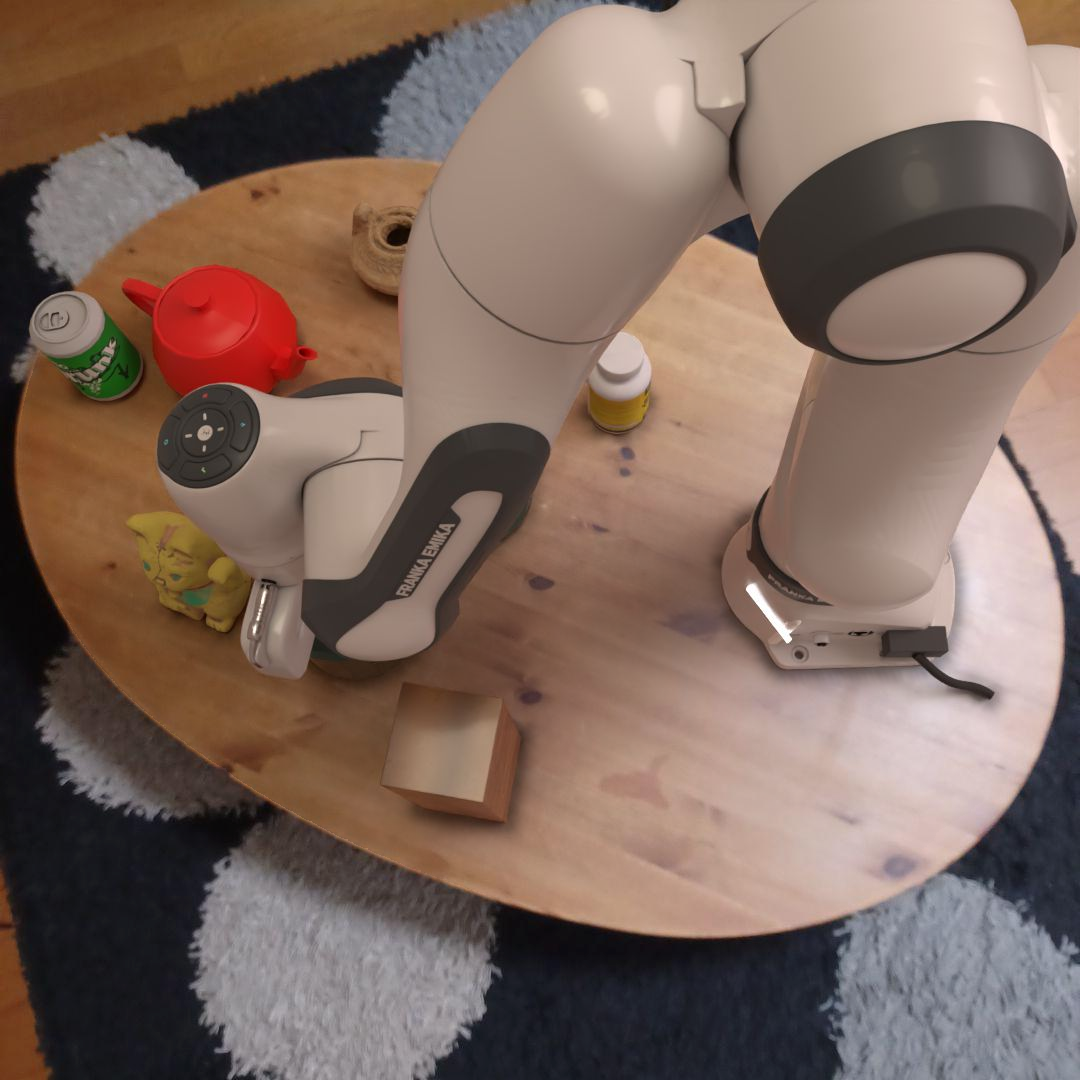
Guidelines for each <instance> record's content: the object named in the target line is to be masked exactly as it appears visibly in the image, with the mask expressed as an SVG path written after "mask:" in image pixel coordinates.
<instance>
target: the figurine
mask: <svg viewBox="0 0 1080 1080" xmlns="http://www.w3.org/2000/svg"><path fill="white" fill-rule="evenodd" d="M124 525H125V527H126V528H127V529H129V530H131V532H132V534H133V536H134V539H135V541H136V546H137V551H138V558H139V561H140V562H141V566H142V569H143V571H144V574H145V576H146V578H147V580H149V581H150V582H151V583H152V584H154V586H155V588H156V590H157V593H158V594H159V595H158V601H159V603H160V604H161V605H162V606H164V607H165V608H168V609H170V610H173V611H175V612H179V613H181V614H183V615H185V616H187V617H189V618H191V619H192V620H195V621H201V620H202V619H203V618H204V616H205V615H206V617H205V623H206V626H208V627H211V628H212V629H215V630H216V631H217V632H222V633H228V632H229V631H230V630H231V629H232V627H233V626H234V624H235V622H236V621H235V620H236V619H237V617H238V616H239V615H240V614H241V612H242V611H243V609H244V607H245V605H246V603H247V602H248V599H249V598H248V597H249V596H250V592H251V591H250V590H251V582H252V577H250V576H249V575H248V574H247V573H246V572H244V571H243V570H242V569H241V568H240V567H239V566H238V565H237V564H236V563H235V562H234V561H233V560H232V559H230V558H229V557H228V556H227V555H226V554H225V553H224V552H223V551H222V550H221V549H220V547H219V546H218V545H217V543H216V542H215V541H214V540H212V539H211V538H209V537H208V536H206V535H205V534H204V533H203V532H202V531H201V530H199V529H198V528H197V527H196V526H195V525H194V524H193V523H192V522H191V521H190V520H189V519H188V518H187V517H186V516H185V514H180V513H178V512H174V511H170V510H169V511H167V510H156V511H151V512H143V513H137V514H134V515H131V516H130V517H129V518H128V519H127V520H126V521H125V523H124Z"/></svg>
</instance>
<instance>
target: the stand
mask: <svg viewBox="0 0 1080 1080" xmlns="http://www.w3.org/2000/svg"><path fill="white" fill-rule="evenodd" d="M521 741H522V736H521V735H520V733H519V730H518V728H517V727H516V724H515V721H514V719H513V718H512V716H511V713H510V712H509V709H508V707H507V705H506V703H505V700H504V698H502V697H497V696H493V695H486V694H481V693H480V694H479V693H473V692H467V691H463V690H456V689H451V688H444V687H439V686H431V685H425V684H418V683H413V682H407V681H402V682H401V686H400V691H399V696H398V700H397V705H396V710H395V714H394V719H393V723H392V728H391V733H390V737H389V741H388V745H387V749H386V750H387V751H386V756H385V759H384V760H385V761H384V764H383V768H382V773H381V778H380V782H379V786H381V787H383V788H385V789H386V790H388V791H391V792H392V793H394V794H396V795H398V796H399V797H402V798H403V799H405V800H407V801H409V802H411V803H413V804H415V805H417V806H419V807H421V808H422V809H426V810H432V811H437V812H443V813H449V814H455V815H459V816H464V817H465V816H466V817H473V818H477V819H482V820H489V821H493V822H500V823H507V821H508V816H509V815H508V814H509V808H510V804H511V803H510V802H511V797H512V792H513V786H514V781H515V775H516V769H517V763H518V759H519V753H520V747H521Z"/></svg>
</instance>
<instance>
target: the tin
mask: <svg viewBox="0 0 1080 1080" xmlns="http://www.w3.org/2000/svg"><path fill="white" fill-rule="evenodd" d="M405 659H406V658H402V659H397V660H390V661H378V662H366V661H356V660H350V659H346V658H343V657H341V656H339V655H337V654H336V653H334V652H333V651H332V650H330V649H329V648H328V647H327V646H326V645H325V644H323V643H322V642H321V641H320V640H319V639H318V638H317V637H316V636H315V638H314V642H313V646H312V650H311V654H310V658H309V661H310V662H312V663H313V664H314V665H315V666H317V667H319V668H320V669H322V670H323V671H325V672H327V673H328V674H330V675H331V676H333V677H338V678H341V679H344V680H352V681H359V680H360V681H361V680H362V681H363V680H370V679H374V678H377V677H380V676H381V675H382V676H383V675H385V674H387V673H388V672H390V671H392V670H394V669H395V668H396V667H398V666H399V665H400V664H402V663H403V661H405Z"/></svg>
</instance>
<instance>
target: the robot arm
mask: <svg viewBox="0 0 1080 1080" xmlns="http://www.w3.org/2000/svg"><path fill="white" fill-rule="evenodd" d="M417 209H418V212H417V214H416V217H415V219H414V222H413V225H412V228H411V232H410V235H409V239H408V243H407V247H406V251H405V256H404V261H403V265H402V271H401V276H400V283H399V292H398V296H397V300H398V301H397V317H398V318H397V319H398V320H397V321H398V340H399V341H398V342H399V343H398V344H399V357H400V359H399V360H400V373H401V374H400V375H401V385H398V384H397V383H394V382H392V381H389V380H386V379H382V378H377V377H371V376H370V377H369V376H364V377H363V376H361V377H344V378H336V379H332V380H327V381H323V382H320V383H317V384H313V385H310V386H308V387H305V388H303V389H301V390H299V391H297V392H295V393H292V394H290V395H288V396H286V397H285V396H277V395H273V394H270V393H267V394H266V393H263V392H261V391H258V390H256V389H253V388H251V387H248V386H245V385H241V384H236V383H215V384H209V385H206V386H203V387H200V388H198V389H196V390H194V391H192V392H190V393H189V394H188V395H186V396H185V397H182V398H181V399H180V400H178V402H177V403H176V404H175V405H174V406H173V408H172V409H171V410H170V411H169V413H168V415H167V416H166V417H165V419H164V421H163V423H162V425H161V427H160V429H159V433H158V437H157V440H156V441H157V443H156V448H155V461H156V466H157V471H158V473H159V477H160V479H161V482H162V484H163V486H164V488H165V490H166V491H167V493H168V495H169V496H170V498H171V500H172V501H173V502H174V504H175V505H176V506H177V508H178V509H179V510H180V511H181V512H182V514H183V515H184V516H186V517H187V518H188V519H189V520H190V521H191V522H192V523H193V524H194V525H195V526H196V527H197V528H198V529H199V530H201V531H202V532H203V533H204V534H205V535H206V536H208V537H209V538H211V539H212V540H214V541H215V542H216V543H217V545H218V546H219V547H220V549H221V550H222V551H223V552H224V553H225V554H226V555H227V556H228V557H229V558H230V559H232V560H233V561H234V562H235V563H236V564H237V565H238V566H239V567H240V568H241V569H242V570H243V571H244V572H246V573H247V574H248V575H249V576H250V577H251V579H253V585H252V587H251V591H250V594H249V598H248V601H247V606H246V610H245V613H244V617H243V620H242V624H241V628H240V629H241V630H240V647H241V649H242V652H243V653H244V656H245V657H246V659H247V661H248V662H249V663H250V664H251V665H252V666H253V668H254V669H255V670H256V671H257V672H259V673H260V674H262V675H265V676H269V677H274V678H279V679H287V680H294V681H295V680H299V679H300V678H302V676H303V675H304V674H305V673H306V671H307V669H308V666H309V661H310V659H309V658H310V654H311V650H312V646H313V642H314V638H315V636H316V637H317V638H318V639H319V640H320V641H321V642H322V643H323V644H325V645H326V646H327V647H328V648H329V649H330V650H332V651H333V652H334V653H336V654H337V655H339V656H341V657H343V658H346V659H350V660H356V661H366V662H378V661H390V660H397V659H402V658H405V659H406V658H410V657H413V656H416V655H419V654H421V653H423V652H426V651H428V650H429V649H431V648H432V647H434V646H435V645H436V644H437V643H438V642H439V641H440V640H441V639H442V638H443V637H444V636H445V635H446V634H447V633H448V632H449V630H450V629H451V628H452V627H453V625H454V624H455V623H456V621H457V619H458V618H459V616H460V615H461V609H460V607H461V606H460V600H459V599H460V597H461V596H462V594H463V592H464V591H465V589H466V588H467V587H468V585H469V584H470V582H471V581H472V580H473V578H474V577H475V576H476V575H477V573H478V572H479V570H480V569H481V568H482V566H483V565H484V563H485V562H486V561H487V560H488V558H489V557H490V556H491V554H492V553H493V551H494V550H495V549H496V548H497V546H498V545H499V544H500V543H501V542H502V541H501V539H502V538H503V537H504V535H505V534H506V532H507V531H508V530H509V528H510V527H511V526H512V524H513V523H514V521H515V520H516V519H517V517H518V516H519V514H520V513H521V511H522V510H523V508H524V507H525V505H526V504H527V502H528V501H529V499H530V497H531V498H532V496H533V494H534V492H535V490H536V489H537V486H538V484H539V481H540V479H541V477H542V475H543V473H544V470H545V468H546V467H547V464H548V462H549V459H550V456H551V452H552V449H553V447H554V445H555V444H556V441H557V440H558V437H559V435H560V433H561V430H562V428H563V426H564V424H565V422H566V419H567V417H568V415H569V413H570V412H571V409H572V407H573V406H574V403H575V401H576V400H577V398H578V396H579V395H580V392H581V391H582V389H583V387H584V386H585V384H586V383H587V379H588V377H589V375H590V374H591V372H592V370H593V369H594V367H595V365H596V364H597V362H598V361H599V359H600V358H601V356H602V355H603V353H604V352H605V350H606V349H607V347H608V346H609V345H610V343H611V342H612V341H613V339H614V338H615V337H616V335H617V334H618V333H619V332H621V331H622V329H624V327H625V326H626V325H627V324H629V322H630V321H631V319H632V318H633V317H634V316H635V315H636V314H637V313H638V312H639V311H640V310H641V308H643V306H644V305H645V304H646V303H647V302H648V300H649V299H651V297H652V296H653V295H654V294H655V292H656V291H657V290H658V289H659V288H660V286H661V285H662V283H663V282H664V281H665V280H666V279H667V278H668V276H669V275H670V273H671V272H672V271H673V269H674V268H675V266H676V265H677V264H678V262H679V261H680V259H681V258H682V256H683V255H684V253H686V251H687V250H688V248H689V247H690V246H691V245H693V244H694V243H695V242H696V241H698V240H699V239H701V238H702V237H704V236H706V235H707V234H708V233H710V232H712V231H714V230H715V229H718V228H719V227H721V226H723V225H725V224H727V223H729V222H731V221H734V220H736V219H739V218H740V217H742V216H747V215H749V216H750V219H751V223H752V225H753V228H754V231H755V234H756V237H757V239H758V245H757V265H758V268H759V270H760V274H761V276H762V279H763V281H764V283H765V287H766V288H767V291H768V293H769V295H770V298H771V300H772V302H773V304H774V306H775V309H776V310H777V312H778V314H779V316H780V318H781V320H782V321H783V323H784V325H785V326H786V327H787V329H788V331H789V332H790V334H791V335H792V336H793V338H794V339H796V341H798V343H800V344H802V345H804V346H805V347H808V348H810V349H813V352H812V356H811V359H810V362H809V365H808V368H807V371H806V374H805V378H804V381H803V384H802V387H801V390H800V393H799V397H798V400H797V403H796V405H795V406H796V407H795V409H794V413H793V416H792V420H791V423H790V426H789V429H788V432H787V436H786V440H785V443H784V447H783V449H782V453H781V457H780V459H779V463H778V466H777V469H776V472H775V475H774V477H773V479H772V482H771V484H770V485H769V487H767V488H766V490H765V491H764V493H763V494H762V496H761V498H760V500H759V501H758V503H757V505H756V507H755V509H753V511H752V514H751V516H750V517H749V518H750V519H749V521H748V522H746V523H745V524H743V525H742V526H741V527H740V528H739V529H738V530H737V531H736V532H735V533H734V535H733V536H732V538H731V539H730V541H729V542H728V545H727V546H726V548H725V550H724V554H723V557H722V563H721V573H720V575H721V584H722V589H723V593H724V597H725V599H726V601H727V603H728V606H729V608H730V609H731V611H732V613H733V614H734V615H735V617H736V618H737V619H738V621H740V623H741V624H742V625H743V626H744V627H745V628H747V630H749V631H750V632H751V633H752V634H754V635H755V636H756V637H757V638H758V639H759V640H760V641H761V642H762V644H763V645H764V647H765V649H766V651H767V653H768V655H769V657H770V658H771V660H772V661H773V663H774V664H775V665H776V666H777V667H779V668H780V669H782V670H816V669H818V670H819V669H846V668H849V669H850V668H877V667H878V668H882V667H911V666H921V667H922V668H923V669H924V670H925V671H926V672H927V673H928V674H930V676H932V677H933V678H934V679H936V680H937V681H938V682H940V683H942V684H944V685H946V686H948V687H950V688H953V689H956V690H962V691H967V692H973V693H976V694H978V695H981V696H983V697H984V698H986V699H987V700H989V701H990V700H991V699H992V698H993V697H994V695H995V691H994V690H992V689H991V688H989V687H988V686H985V685H983V684H980V683H977V682H974V681H968V680H963V679H962V680H961V679H957V678H954V677H952V676H950V675H948V674H947V673H945V672H944V671H943V670H941V669H939V667H938V666H936V665H935V664H934V663H933V662H934V661H935V660H936V659H937V658H942V657H943V656H944V655H946V654H947V653H949V651H950V650H949V643H948V639H949V637H950V633H951V630H952V626H953V621H954V614H955V607H956V605H955V604H956V576H955V575H956V574H955V568H954V562H953V559H952V555H951V552H950V547H951V544H952V541H953V539H954V537H955V534H956V532H957V529H958V527H959V525H960V522H961V520H962V518H963V516H964V514H965V511H966V509H967V508H968V506H969V503H970V501H971V499H972V497H973V495H974V494H975V491H976V490H977V487H978V486H979V484H980V482H981V479H982V478H983V475H984V474H985V472H986V469H987V468H988V465H989V463H990V460H991V459H992V457H993V455H994V452H995V450H996V448H997V446H998V443H999V441H1000V439H1001V436H1002V434H1003V432H1004V429H1005V427H1006V425H1007V423H1008V420H1009V418H1010V416H1011V413H1012V411H1013V408H1014V406H1015V405H1016V402H1017V399H1018V398H1019V396H1020V394H1021V392H1022V391H1023V389H1024V387H1025V385H1026V384H1027V383H1028V381H1029V380H1030V378H1031V377H1032V376H1033V374H1034V373H1035V372H1036V370H1037V369H1038V368H1039V366H1040V365H1041V364H1042V362H1043V361H1044V360H1045V358H1046V357H1047V356H1048V354H1050V351H1051V350H1052V349H1053V348H1054V347H1055V345H1056V344H1057V343H1058V341H1059V340H1060V338H1061V337H1062V336H1063V335H1064V333H1065V331H1066V330H1067V329H1068V327H1069V326H1070V325H1071V324H1072V322H1073V321H1074V320H1075V318H1076V317H1077V316H1078V315H1079V313H1080V47H1076V46H1072V45H1065V44H1059V43H1058V44H1057V43H1056V44H1054V43H1053V44H1051V43H1042V44H1032V45H1028V44H1027V40H1026V37H1025V34H1024V30H1023V27H1022V24H1021V21H1020V17H1019V15H1018V12H1017V10H1016V8H1015V6H1014V5H1013V2H1012V1H1011V0H677V2H676V3H675V0H661V11H660V12H659V11H658V12H655V11H649V10H646V9H643V8H639V7H635V6H631V5H626V4H616V3H615V4H595V5H591V6H586V7H582V8H579V9H577V10H574V11H571V12H569V13H568V14H566V15H563V16H561V17H560V18H559V19H557V20H556V21H554V22H552V23H551V24H550V25H549V26H548V27H546V28H545V29H544V30H543V31H542V32H541V33H540V34H539V35H538V36H537V37H536V38H535V39H534V41H533V42H532V43H531V44H530V45H529V46H528V47H527V48H526V49H525V50H524V51H523V52H522V53H521V55H520V56H518V57H517V58H516V60H515V61H514V62H513V63H512V64H511V65H510V67H509V68H508V69H507V70H506V71H505V72H504V73H503V74H502V76H501V78H500V79H498V81H497V82H496V83H495V85H493V87H492V88H491V89H490V91H489V92H488V94H487V95H486V96H485V98H484V99H483V100H482V101H481V103H480V104H479V105H478V107H477V108H476V110H475V111H474V112H473V113H472V115H471V116H470V118H469V120H468V121H467V123H466V124H465V126H464V127H463V129H462V130H461V132H460V133H459V135H458V136H457V138H456V140H455V141H454V143H453V144H452V146H451V148H450V150H449V151H448V152H447V154H446V156H445V158H444V159H443V161H442V163H441V165H440V166H439V169H438V170H437V172H436V174H435V176H434V178H433V180H432V182H431V184H430V185H429V187H428V189H427V191H426V193H425V195H424V196H423V198H422V201H421V202H420V204H419V207H418V208H417ZM500 541H501V542H500ZM796 653H800V654H801V655H802V658H798V657H797V656H796Z"/></svg>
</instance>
